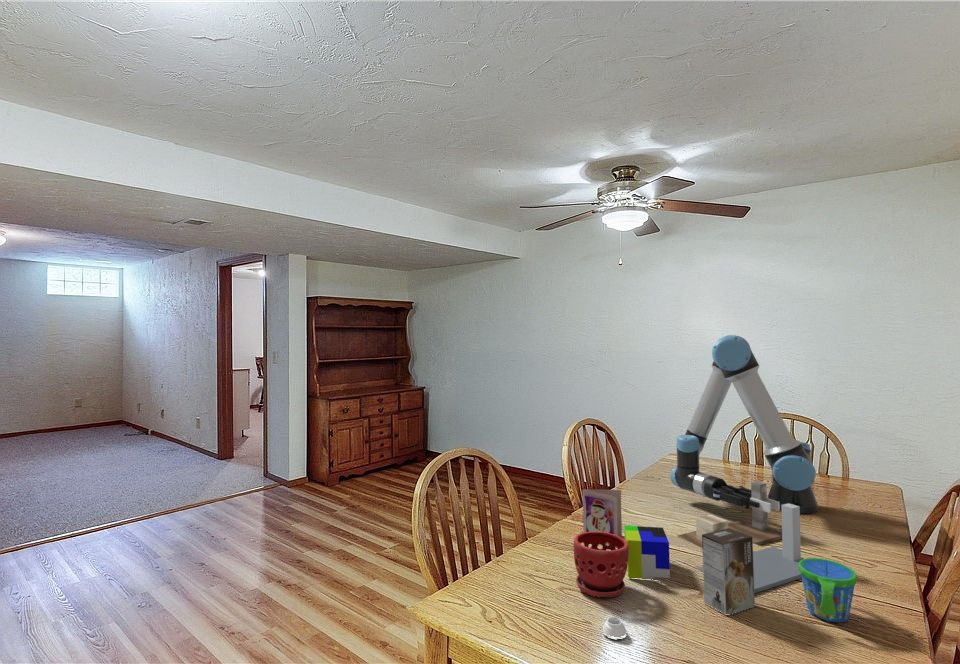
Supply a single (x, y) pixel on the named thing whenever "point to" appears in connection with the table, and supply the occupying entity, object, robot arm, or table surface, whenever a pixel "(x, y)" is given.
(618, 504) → the greeting card
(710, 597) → the coffee box
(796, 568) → the base plate with post
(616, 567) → the plant pot
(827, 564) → the snack cup
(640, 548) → the puzzle toy
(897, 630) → the table surface
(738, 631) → the table surface
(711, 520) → the beech block
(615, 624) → the grey tapered hollow piece
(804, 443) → the robot arm
